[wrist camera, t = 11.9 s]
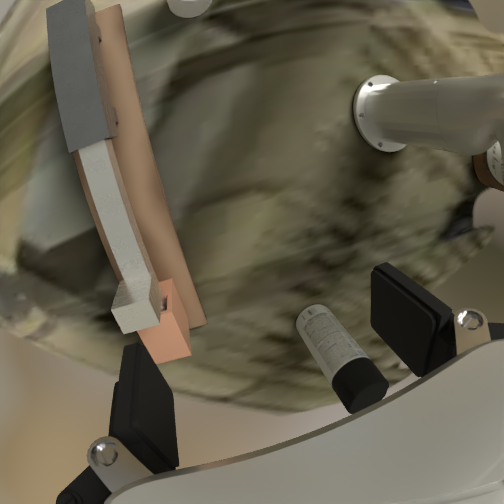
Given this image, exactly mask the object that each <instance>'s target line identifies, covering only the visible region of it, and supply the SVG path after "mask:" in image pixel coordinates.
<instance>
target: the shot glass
mask: <svg viewBox="0 0 504 504" xmlns="http://www.w3.org/2000/svg"><path fill="white" fill-rule="evenodd" d="M167 2H168V6H169V8H170V11H171V12H173V13H174V14H175V15H176V16H179V17H182V18H193V17H196V16H199V15H201V14H202V13H204V12H205V11H206V10H207V9H208V7H209V6H210V4H211V2H212V0H167Z"/></svg>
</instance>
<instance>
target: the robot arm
mask: <svg viewBox="0 0 504 504" xmlns="http://www.w3.org/2000/svg"><path fill="white" fill-rule="evenodd" d="M353 112H354V119H355V122H356V125H357V128H358V130H359V132H360V134H361V135H362V137H363V138H364V139H365V140H366V141H367V143H368V144H370V145H371V146H372V147H374V148H376V149H378V150H380V151H385V152H395V151H398V150H401V149H402V148H404V147H405V146H406V145H412V146H419V147H425V148H432V149H437V150H443V151H448V152H454V153H459V154H464V155H478V154H482V153H484V152H485V151H487V150H488V149H490V148H491V147H492V146H493V145H494V144H495V143H496V142H497V141H498V142H499V144H500V147H501V154H502V159H503V169H504V73H500V74H493V75H485V76H470V77H451V78H437V79H424V80H414V81H405V82H399V81H398V80H396V79H394V78H392V77H390V76H386V75H377V76H373V77H370V78H368V79H366V80H365V81H364V82H363V83H361V85H360V86H359V88H358V89H357V92H356V94H355V98H354V103H353ZM371 326H372V328H373V329H374V330H375V331H376V333H377V334H378V335H379V336H380V337H381V338H382V339H383V340H384V341H385V342H386V343H387V344H388V345H389V347H390V348H391V349H392V350H393V351H394V352H395V353H396V354H397V355H398V356H399V357H400V359H401V360H402V361H403V362H404V363H405V364H406V365H407V366H408V367H409V368H410V370H411V371H412V372H413V373H414V374H415V375H416V376H417V377H421V378H420V379H419V380H417V381H415V382H414V383H412V384H410V385H408V386H407V387H405V388H403V389H401V390H400V391H398V392H396V393H394V394H392V395H391V396H389V397H387V398H385V399H383V400H381V401H379V402H377V403H375V404H373V405H371V406H369V407H367V408H365V409H363V410H361V411H359V412H357V413H354V414H352V415H350V416H348V417H346V418H344V419H342V420H339V421H337V422H334V423H332V424H330V425H327V426H325V427H322V428H320V429H318V430H315V431H312V432H310V433H307V434H304V435H302V436H299V437H296V438H294V439H291V440H288V441H285V442H282V443H279V444H276V445H273V446H270V447H267V448H264V449H260V450H257V451H253V452H250V453H246V454H243V455H239V456H235V457H232V458H228V459H223V460H219V461H215V462H212V463H207V464H202V465H198V466H193V467H188V468H183V469H178V470H176V468H175V467H178V466H179V458H178V448H177V437H176V426H175V414H174V399H173V393H172V391H171V389H170V387H169V385H168V384H167V382H166V380H165V379H164V377H163V376H162V374H161V372H160V371H159V369H158V367H157V365H156V364H155V362H154V360H153V359H152V357H151V355H150V353H149V351H148V350H147V348H146V346H145V345H142V346H141V345H140V344H139V343H134V344H130V345H126V346H124V350H123V356H122V362H121V369H120V375H119V381H118V382H116V383H115V386H114V392H113V400H112V408H111V416H110V425H109V435H108V436H105V437H101V438H99V439H97V440H95V441H94V442H93V443H92V444H91V446H90V448H89V449H88V453H87V460H88V463H89V466H88V467H87V468H86V469H85V470H84V471H83V472H82V473H81V474H80V475H79V476H78V477H77V478H76V479H75V480H74V481H72V482H71V483H70V484H69V485H68V486H67V487H66V488H65V489H64V490H63V491H62V492H61V493H60V494H59V495H58V497H57V500H56V504H504V323H487V320H486V317H485V316H484V315H483V314H482V313H481V312H480V311H478V310H475V309H472V308H465V309H461V310H459V311H458V312H457V313H456V314H455V315H454V314H453V313H452V309H451V308H450V307H448V306H447V305H446V304H444V303H443V302H442V301H440V300H439V299H438V298H436V297H435V296H434V295H432V294H431V293H430V292H428V291H427V290H426V289H424V288H423V287H422V286H420V285H419V284H417V283H416V282H415V281H413V280H412V279H411V278H409V277H408V276H406V275H405V274H403V273H402V272H401V271H399V270H398V269H396V268H395V267H394V266H392V265H391V264H389V263H387V262H385V263H383V264H380V265H378V266H375V267H374V269H373V271H372V272H371Z"/></svg>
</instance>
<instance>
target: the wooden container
mask: <svg viewBox="0 0 504 504" xmlns="http://www.w3.org/2000/svg"><path fill="white" fill-rule="evenodd" d="M473 162H474V168H475V172H476V175H477V177H478V179H479V181H480V182H481V183H482V184H483V185H486V186H489V187H492V188H495V189H498V190H500V191H504V169H503V159H502V154H501V147H500V144H499V142H498V141H497V142H496V143H495V144H494V145H493V146H492V147H491V148H490V149H488V150H487V151H485V152H484V153H482V154H478V155H473Z"/></svg>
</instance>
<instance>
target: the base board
mask: <svg viewBox="0 0 504 504" xmlns="http://www.w3.org/2000/svg"><path fill="white" fill-rule="evenodd" d="M95 18H96V23H97V25H98V26H99V28H100V30H101V37H102V41H99V45H100V51H101V56H102V62H103V67H104V73H105V78H106V83H107V87H108V92H109V97H110V101H111V105H112V106H113V107H115V108H116V112H117V116H118V121H119V123H116V126H117V130H118V134H119V137H116V138H113V139H111V141H112V145H113V148H114V152H115V156H116V159H117V163H118V166H119V170H120V173H121V177H122V180H123V183H124V186H125V190H126V193H127V196H128V199H129V202H130V205H131V208H132V211H133V214H134V217H135V220H136V223H137V226H138V229H139V232H140V234H141V237H142V240H143V243H144V246H145V248H146V251H147V254H148V256H149V259H150V262H151V264H152V267H153V269H154V272H155V274H156V277H157V279H158V282H161V281H165V280H168V279H171V278H172V279H173V282H174V285H175V287H176V290H177V292H178V295H179V297H180V300H181V303H182V305H183V307H184V310H185V312H186V315H187V317H188V325H189V329H191V328H194V327H198V326H201V325H205V324H208V323H207V318H206V316H205V313H204V310H203V307H202V305H201V302H200V299H199V297H198V294H197V291H196V288H195V285H194V283H193V280H192V277H191V274H190V271H189V268H188V265H187V262H186V260H185V257H184V254H183V251H182V248H181V245H180V242H179V238H178V235H177V232H176V229H175V226H174V223H173V220H172V217H171V213H170V210H169V207H168V204H167V200H166V197H165V194H164V190H163V187H162V183H161V180H160V176H159V173H158V169H157V166H156V162H155V159H154V155H153V151H152V148H151V144H150V140H149V136H148V132H147V128H146V124H145V120H144V116H143V112H142V108H141V104H140V100H139V95H138V91H137V87H136V82H135V78H134V73H133V68H132V63H131V58H130V53H129V48H128V43H127V38H126V32H125V27H124V21H123V15H122V9H121V6H120V4H118V5H115V6H112V7H109V8H106V9H103V10H101V11H98V12H96V13H95ZM72 153H73V156H74V160H75V163H76V167H77V170H78V174H79V177H80V180H81V184H82V187H83V190H84V193H85V196H86V199H87V202H88V205H89V208H90V211H91V214H92V216H93V219H94V222H95V225H96V227H97V230H98V233H99V235H100V238H101V241H102V243H103V246H104V248H105V251H106V253H107V256H108V258H109V260H110V263H111V265H112V268H113V270H114V272H115V274H116V277H117V279H118V281H119V283H120V281H122V280H124V278H123V276H122V274H121V271H120V269H119V267H118V264H117V262H116V259H115V257H114V254H113V252H112V249H111V247H110V244H109V242H108V239H107V237H106V234H105V231H104V229H103V226H102V223H101V220H100V218H99V215H98V212H97V209H96V206H95V203H94V200H93V197H92V194H91V191H90V188H89V185H88V182H87V178H86V175H85V172H84V168H83V165H82V161H81V158H80V154H79V151H77V152H72Z"/></svg>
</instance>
